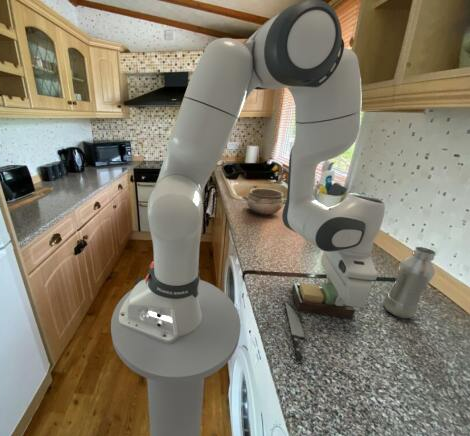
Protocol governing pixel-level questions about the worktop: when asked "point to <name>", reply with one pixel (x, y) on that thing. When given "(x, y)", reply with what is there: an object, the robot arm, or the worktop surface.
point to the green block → (329, 294)
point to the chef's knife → (295, 329)
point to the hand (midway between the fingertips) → (333, 296)
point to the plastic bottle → (410, 283)
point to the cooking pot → (265, 200)
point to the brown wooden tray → (320, 306)
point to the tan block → (311, 293)
